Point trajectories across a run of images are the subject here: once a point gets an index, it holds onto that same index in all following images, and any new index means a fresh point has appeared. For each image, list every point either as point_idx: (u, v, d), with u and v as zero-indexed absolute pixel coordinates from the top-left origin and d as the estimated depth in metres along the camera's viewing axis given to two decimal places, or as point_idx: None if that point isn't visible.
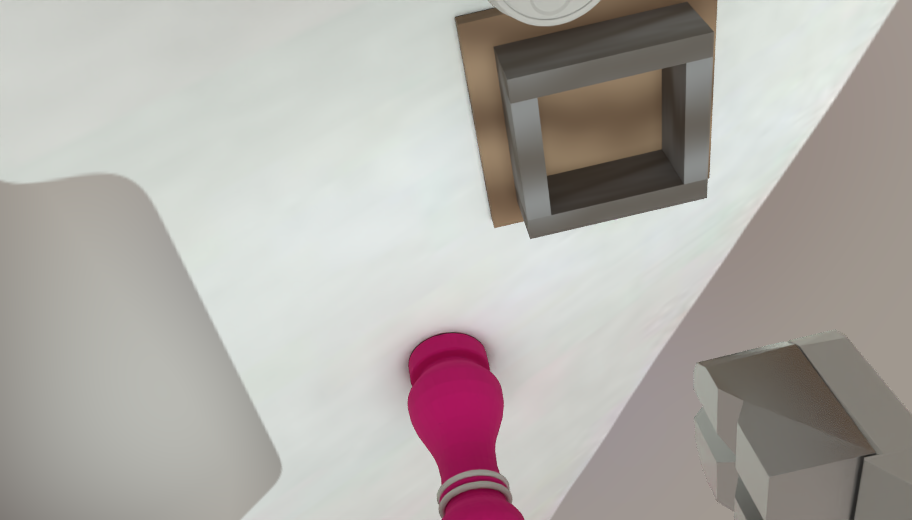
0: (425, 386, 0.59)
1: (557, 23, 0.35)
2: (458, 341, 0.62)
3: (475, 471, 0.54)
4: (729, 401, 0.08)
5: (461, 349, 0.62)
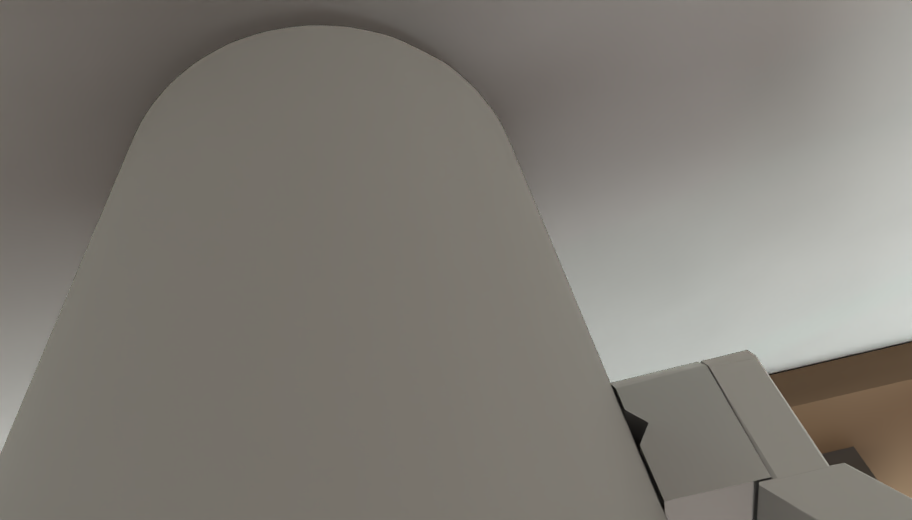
0: None
1: None
2: None
3: None
4: (636, 423, 0.08)
5: None
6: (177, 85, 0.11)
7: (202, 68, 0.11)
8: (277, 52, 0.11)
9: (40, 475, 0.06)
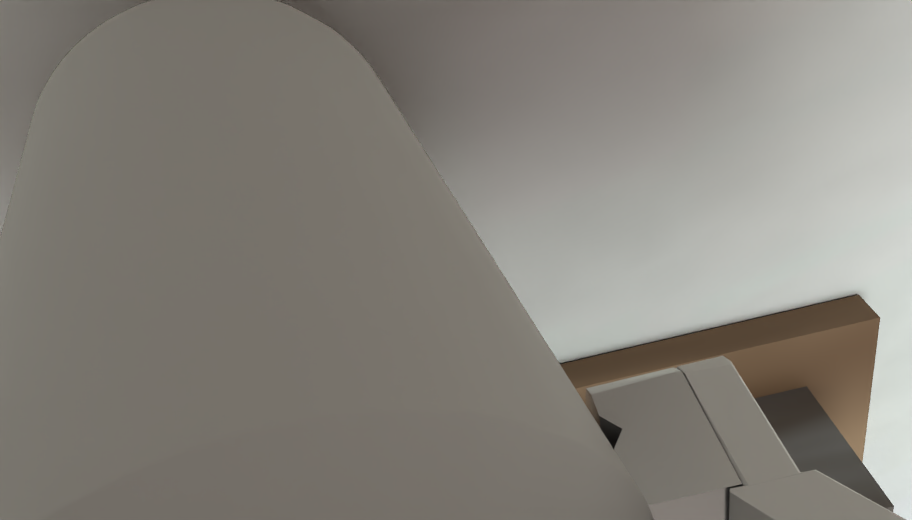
0: None
1: None
2: None
3: None
4: (610, 429, 0.08)
5: None
6: (87, 42, 0.12)
7: (112, 26, 0.12)
8: (185, 10, 0.12)
9: (49, 308, 0.07)
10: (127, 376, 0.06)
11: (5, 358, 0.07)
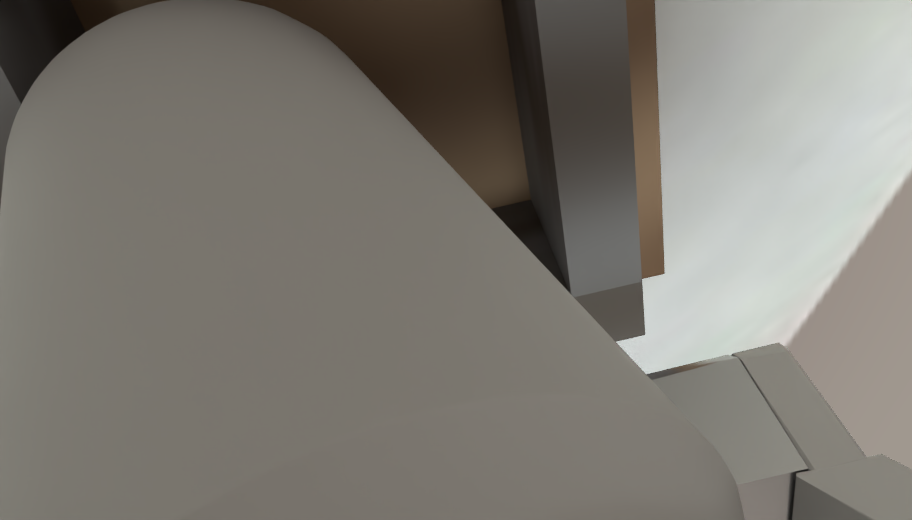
0: None
1: None
2: None
3: None
4: None
5: None
6: (70, 53, 0.12)
7: (96, 36, 0.12)
8: (175, 17, 0.12)
9: (97, 320, 0.06)
10: (214, 380, 0.05)
11: (53, 377, 0.06)
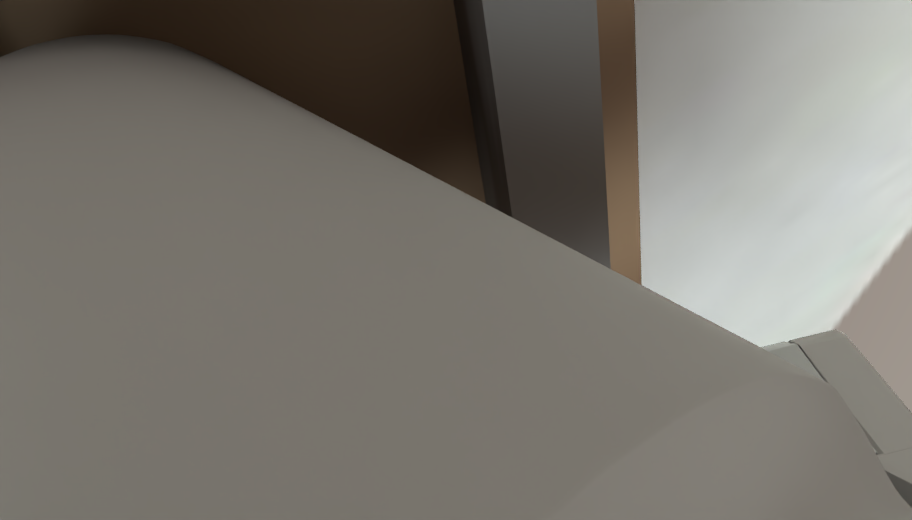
0: None
1: None
2: None
3: None
4: None
5: None
6: None
7: None
8: (70, 56, 0.10)
9: (180, 400, 0.05)
10: (405, 436, 0.04)
11: (141, 479, 0.05)
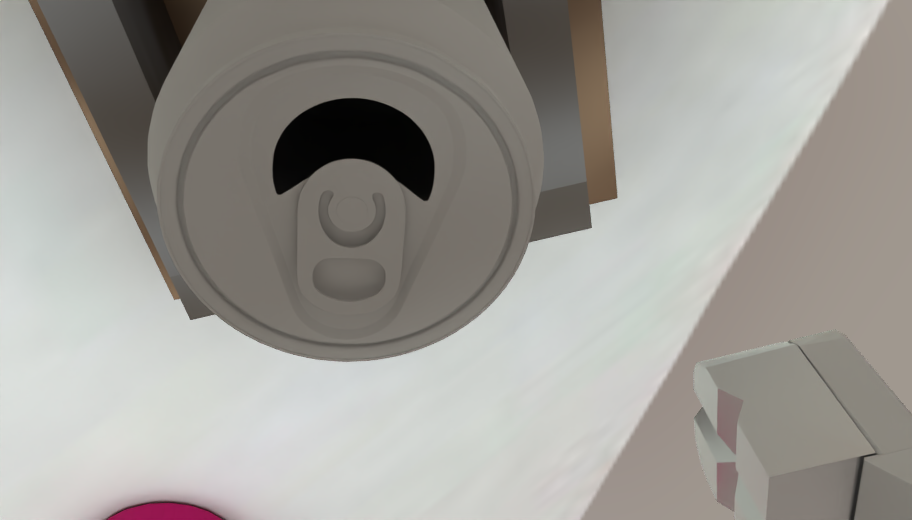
0: None
1: (368, 356, 0.14)
2: None
3: None
4: (729, 401, 0.08)
5: None
6: None
7: None
8: None
9: None
10: None
11: None
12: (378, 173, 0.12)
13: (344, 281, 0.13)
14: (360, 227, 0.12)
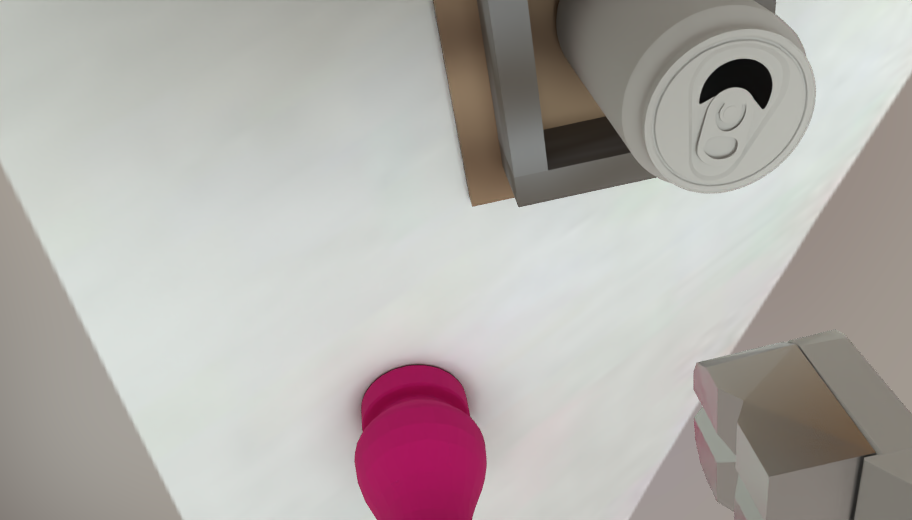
0: (377, 432, 0.43)
1: (713, 191, 0.28)
2: (427, 375, 0.46)
3: None
4: (729, 401, 0.08)
5: (430, 385, 0.45)
6: None
7: None
8: None
9: None
10: None
11: (651, 5, 0.27)
12: (746, 94, 0.26)
13: (715, 149, 0.27)
14: (731, 121, 0.26)
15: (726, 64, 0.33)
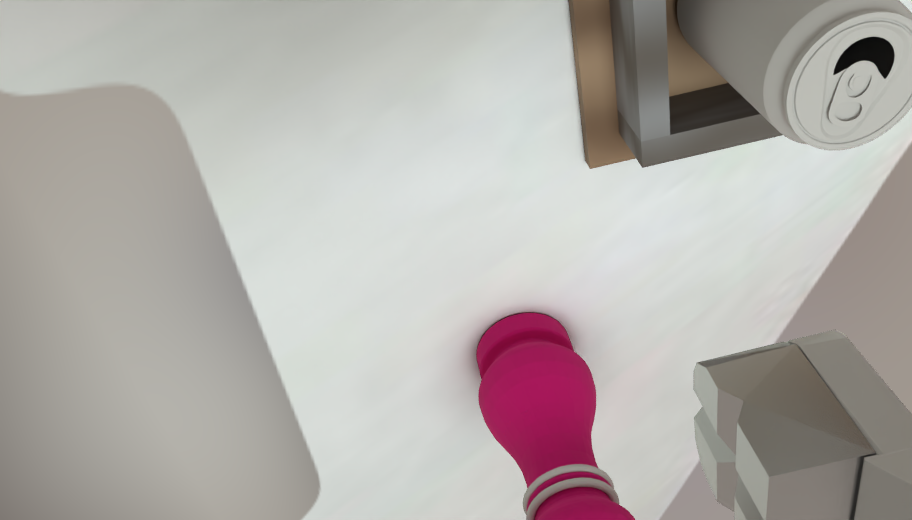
0: (502, 370, 0.48)
1: (837, 149, 0.33)
2: (538, 321, 0.52)
3: (573, 466, 0.43)
4: (729, 401, 0.08)
5: (542, 330, 0.51)
6: None
7: None
8: None
9: None
10: None
11: None
12: (872, 66, 0.31)
13: (842, 113, 0.32)
14: (858, 89, 0.32)
15: None
